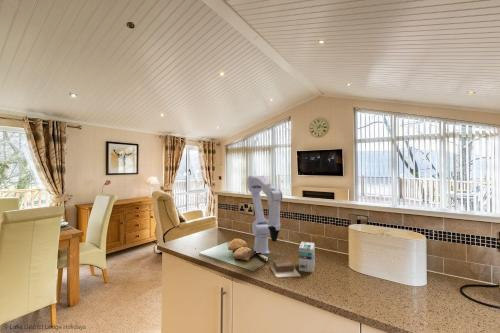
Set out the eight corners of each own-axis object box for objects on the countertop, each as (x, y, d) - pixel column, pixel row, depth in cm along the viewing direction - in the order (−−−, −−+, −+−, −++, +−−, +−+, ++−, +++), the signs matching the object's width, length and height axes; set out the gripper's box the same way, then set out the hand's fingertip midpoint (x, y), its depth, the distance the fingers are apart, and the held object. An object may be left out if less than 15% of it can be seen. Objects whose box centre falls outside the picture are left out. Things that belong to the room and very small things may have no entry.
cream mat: (270, 268, 114) (270, 267, 114) (292, 266, 116) (292, 266, 116) (276, 277, 104) (276, 276, 104) (300, 276, 106) (300, 275, 106)
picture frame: (273, 260, 115) (277, 266, 108) (289, 259, 117) (294, 265, 110) (273, 266, 115) (277, 272, 108) (288, 265, 117) (293, 271, 110)
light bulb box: (313, 273, 109) (313, 249, 109) (298, 270, 111) (298, 247, 111) (314, 264, 119) (315, 242, 119) (301, 262, 121) (301, 241, 121)
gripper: (263, 211, 128) (263, 237, 128) (270, 217, 114) (269, 245, 114) (276, 211, 130) (275, 236, 129) (284, 216, 115) (284, 245, 115)
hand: (274, 241), depth 122 cm, fingers closed
